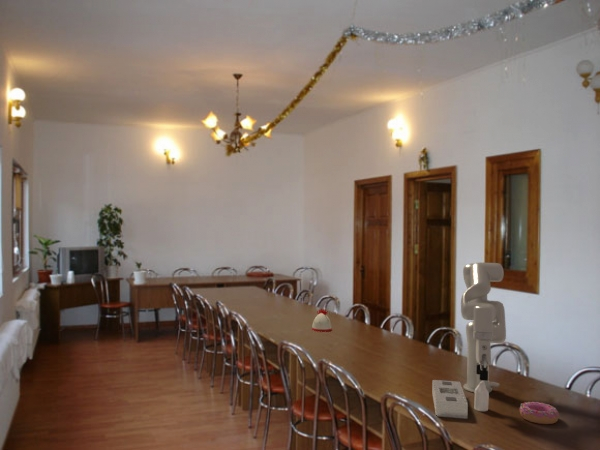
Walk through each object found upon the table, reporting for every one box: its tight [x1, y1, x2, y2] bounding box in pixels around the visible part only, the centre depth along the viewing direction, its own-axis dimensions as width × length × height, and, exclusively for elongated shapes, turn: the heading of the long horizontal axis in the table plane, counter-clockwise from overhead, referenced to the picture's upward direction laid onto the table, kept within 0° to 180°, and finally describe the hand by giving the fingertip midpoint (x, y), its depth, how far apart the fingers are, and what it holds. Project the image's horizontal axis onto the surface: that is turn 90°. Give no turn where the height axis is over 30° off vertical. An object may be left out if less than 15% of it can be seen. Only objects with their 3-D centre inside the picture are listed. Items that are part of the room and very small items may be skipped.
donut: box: [519, 401, 560, 425], centre depth 216 cm, size 14×14×5 cm
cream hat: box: [311, 308, 333, 333], centre depth 386 cm, size 14×14×15 cm
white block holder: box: [431, 379, 469, 420], centre depth 230 cm, size 12×30×6 cm, turn 169°
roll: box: [473, 381, 490, 412], centre depth 225 cm, size 6×12×6 cm
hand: (482, 377), depth 225 cm, fingers open, 9 cm apart
